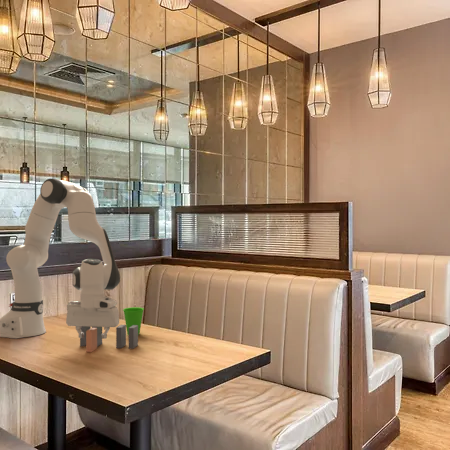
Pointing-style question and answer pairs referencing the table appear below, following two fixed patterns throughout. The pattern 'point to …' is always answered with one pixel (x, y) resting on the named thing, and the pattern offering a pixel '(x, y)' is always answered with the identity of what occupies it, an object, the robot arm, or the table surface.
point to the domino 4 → (120, 336)
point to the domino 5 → (133, 336)
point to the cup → (133, 317)
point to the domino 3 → (99, 335)
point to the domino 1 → (83, 340)
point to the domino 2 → (91, 339)
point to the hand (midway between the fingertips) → (92, 337)
